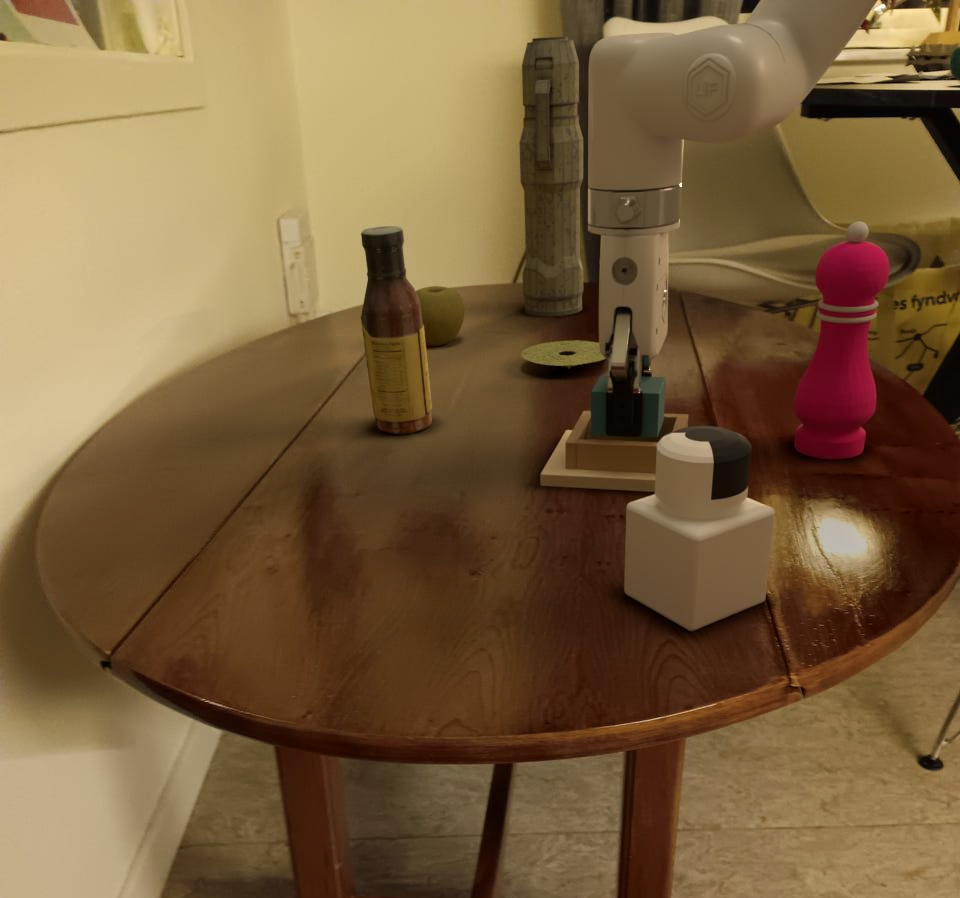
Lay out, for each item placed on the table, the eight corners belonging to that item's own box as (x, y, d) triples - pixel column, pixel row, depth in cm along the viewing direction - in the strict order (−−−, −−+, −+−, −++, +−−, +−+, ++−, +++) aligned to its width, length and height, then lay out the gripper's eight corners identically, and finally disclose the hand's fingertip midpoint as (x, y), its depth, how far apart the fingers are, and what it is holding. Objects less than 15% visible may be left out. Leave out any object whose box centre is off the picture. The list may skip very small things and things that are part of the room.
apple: (477, 342, 135) (474, 287, 131) (431, 354, 130) (426, 298, 127) (442, 333, 140) (439, 280, 136) (397, 345, 135) (392, 290, 132)
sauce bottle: (400, 414, 109) (381, 221, 99) (445, 422, 106) (430, 224, 96) (361, 432, 105) (337, 232, 94) (407, 441, 101) (387, 235, 91)
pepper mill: (885, 449, 93) (923, 219, 82) (834, 468, 89) (867, 231, 79) (822, 430, 98) (851, 212, 88) (772, 447, 94) (795, 223, 84)
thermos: (519, 320, 144) (511, 39, 126) (528, 302, 154) (521, 39, 136) (580, 319, 143) (581, 35, 125) (585, 300, 153) (585, 35, 135)
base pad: (708, 447, 95) (711, 409, 94) (698, 495, 86) (701, 454, 84) (566, 441, 99) (565, 405, 97) (540, 486, 89) (539, 447, 87)
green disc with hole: (602, 382, 115) (602, 365, 114) (510, 378, 119) (509, 362, 118) (621, 356, 125) (621, 341, 124) (535, 353, 128) (535, 338, 127)
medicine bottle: (695, 566, 74) (706, 410, 68) (767, 602, 69) (785, 436, 63) (621, 594, 71) (625, 433, 65) (690, 634, 66) (702, 463, 60)
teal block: (663, 419, 92) (665, 376, 90) (657, 438, 88) (659, 393, 86) (599, 417, 93) (600, 375, 91) (590, 435, 89) (590, 391, 87)
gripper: (669, 226, 73) (658, 460, 82) (690, 194, 87) (679, 397, 96) (569, 227, 75) (570, 456, 84) (605, 196, 89) (602, 395, 98)
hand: (628, 422), depth 90 cm, fingers closed on teal block, 5 cm apart
